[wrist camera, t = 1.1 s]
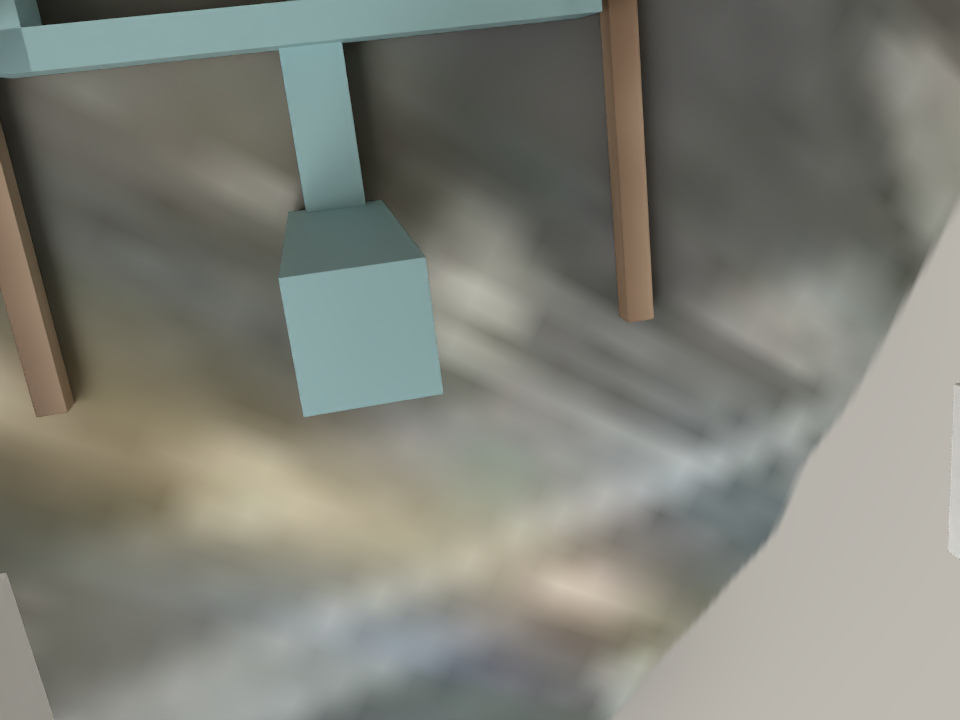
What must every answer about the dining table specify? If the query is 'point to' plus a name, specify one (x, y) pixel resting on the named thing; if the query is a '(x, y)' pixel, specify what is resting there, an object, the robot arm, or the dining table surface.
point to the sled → (307, 168)
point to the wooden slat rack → (14, 268)
